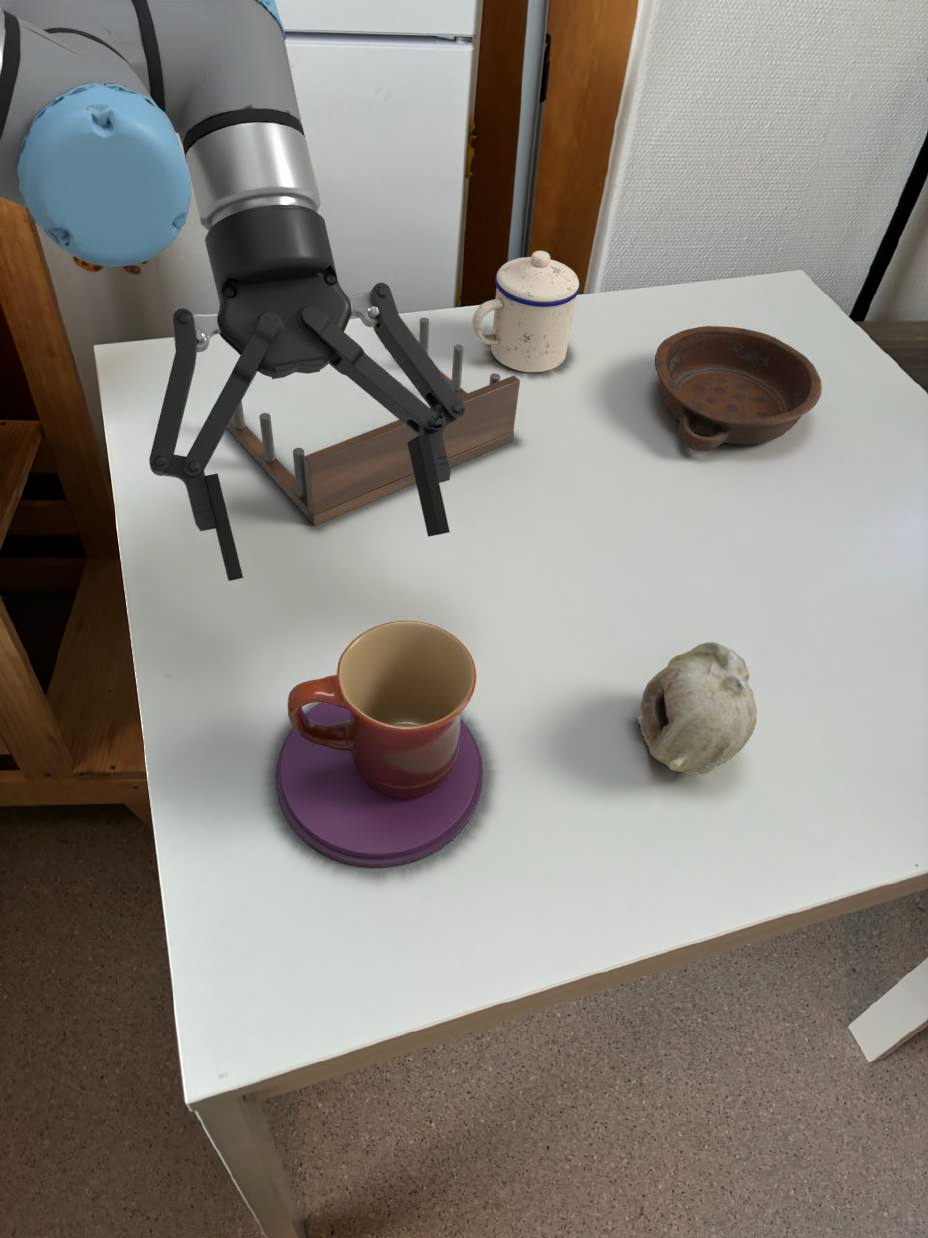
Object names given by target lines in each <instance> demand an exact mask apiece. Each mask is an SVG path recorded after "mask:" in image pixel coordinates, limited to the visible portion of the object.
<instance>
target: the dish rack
mask: <svg viewBox="0 0 928 1238" xmlns="http://www.w3.org/2000/svg"><path fill="white" fill-rule="evenodd" d="M418 328H419V329H418V330H419V331H418V342H419V343H420V345H421V346H422V347H423V349H424V350H425V351H426V353H427V354H428V355H429V339H430V318H428V317H421V318H419V327H418ZM464 350H465V349H464V345H462V344H458V343H457V344H455V345H453V352H452V353H453V354H452V367H451V368H452V370H451V371H452V372H451V378H450V377H449V376H447V375H446V374H445V373H443V371H441V370H440V372H441V373H442V374H443V376H444V377H445V378H446V380H447V381H448V383H449V384H450V385H451V387H452V388H453V389H454V391H455V392H456V393H457V395H458V396H459V397H460V399H461V400H462V401H463V403H464V405H465V413H464V414H463V416H461V417H460V418H458V419H456V420H455V421H453V422H452V423H450V424H448V425H447V426H446V427H445V428H444V431H443V439H444V444H445V448H446V453H447V458H448V462H449V467H450V469H453V468H454V467H456V466H459V465H461V464H463V463H465V462H466V463H467V462H468V461H471V460H472V459H474V458H477V457H480V456H481V455H484V454H487V453H489V452H491V451H494V450H496V449H499V448H501V447H503V446H506V445H507V444H510V443H512V442H514V436H515V423H516V417H517V407H518V401H519V392H520V385H521V380H520V379H519V378H518V377H516V376H515V375H511V376H509V377H506V378H503V379H501V376H500V374H499V373H495V372H493V373H491V374H490V375H489V383H488V385H485V386H483V387H480V388H478V389H475V390H473V391H470V392H467V391H465V390H464V389H463V388H462V376H463V375H462V374H463V364H464V363H463V362H464ZM429 408H430V407H429ZM430 409H431V408H430ZM258 419H259V425H260V432H261V440H260V439H259V438H258V437H257V435H255V433H253V431H252V430H250V428H249V427H248V426H247V425H246V421H245V414H244V408H243V400H242V401H241V403H240V404H239V406H238V408H237V410H236V412H235V414H234V416H233V417H232V419H231V421H230V423H229V425H228V427H227V429H226V430H228V431H229V432H230V433H231V435H232V436H233V437H234V438H235V439H236V440H237V441H238V442H239V443H240V444H241V446H242V447H243V448H244V449H245V450H246V451H247V452H248V453H249V455H251V456H252V458H253V459H254V460H255V461H256V462H257V463H258V465H259V466H261V468H262V469H263V470H264V471H265V472H266V473H267V474H268V475H269V477H270V478H271V479H272V480H273V481H274V482H275V483H276V485H277V486H279V488H280V489H281V490H282V491H283V492H284V493H285V494H286V495H287V496H288V498H289V499H290V500H291V501H292V502H293V503H294V504H295V506H296V507H297V508H298V509H299V510H300V511H301V512H302V513H303V514H304V515H305V516H306V518H308V520H309V521H310V522H311V523H312V524H313V525H314V526H318V525H320V524H322V523H325V522H327V521H329V520H332V519H334V518H336V517H340V516H341V515H343V514H346V513H348V512H350V511H353V510H355V509H358V508H360V507H363V506H365V505H367V504H370V503H372V502H374V501H376V500H378V499H381V498H383V497H386V496H388V495H391V494H393V493H395V492H398V491H400V490H402V489H404V488H407V487H409V486H411V485H413V484H416V480H415V475H414V471H413V466H412V462H411V457H410V453H409V448H408V444H407V442H409V441H410V440H412V439H414V438H415V437H417V436H418V435H417V434H416V433H415V432H414V431H412V430H411V429H410V428H409V427H408V426H406V425H405V424H404V423H403V422H402V421H400V420H399V419H398V420H395V421H392V422H389V423H387V424H384V425H382V426H379V427H377V428H374V429H372V430H369V431H365V432H364V433H362V434H358V435H356V436H353V437H351V438H348V439H345V440H343V441H339V442H338V443H336V444H333V445H330V446H327V447H324V448H322V449H319V450H317V451H314V452H312V453H309V454H307V455H306V454H305V450H304V448H302V447H295V448H294V449H293V450H292V458H293V468H294V469H293V470H294V476H293V475H292V474H291V472H290V471H289V469H287V468H286V467H285V466H284V465H283V464H282V463H281V461H279V459H278V458H277V457H276V452H275V444H274V434H273V426H272V417H271V414H270V413H268V412H262V413H260V414H259V418H258Z"/></svg>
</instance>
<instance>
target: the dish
mask: <svg viewBox="0 0 928 1238" xmlns="http://www.w3.org/2000/svg"><path fill="white" fill-rule="evenodd" d="M654 367H655V372H656V375H657V377H658V383H659V391H660V395H661V397H662V400H663V402H664V404H665V406H666V408H667V409H668V411H669V412H670V413H671V414H672V415H673V416H674V417H675V418H676V420H678V421H679V426H678V437H679V439H680V441H681V442H682V443H683V445H685V447H688V448H689V449H691V450H695V451H699V452H708V451H711V450H714V449H716V448H718V447H719V446H720V445H721V444H723V443H728V444H733V445H734V444H736V445H757V444H763V443H766V442H770V441H772V440H773V441H774V440H775V439H777V438H780V437H781V436H783V435H785V434H786V433H787V432H789V431H790V430H792V428H793V427H794V426H795V425H796V424H797V423H798V421H800V419H801V418H802V417H803V416H804V415H806V414H807V413H808V412H810V411H811V410H812V409H814V408H815V406H816V405H817V404H818V402H819V401H820V398H821V396H822V391H823V386H822V383H823V382H822V380H821V377H820V375H819V372H818V370H817V368H816V367H815V365H814V363H812V362H811V361H810V359H809V358H808V357H806V355H804V354H803V353H801V352H800V351H798V350H797V349H795V348H794V347H792V346H791V345H789V344H787V343H785V342H783V341H782V340H780V339H779V338H777V337H775V336H772V335H769V334H767V333H765V332H760V331H757V330H753V329H747V328H741V327H735V326H721V325H706V326H697V327H694V328H693V327H692V328H687V329H684V330H682V331H678V332H676V333H674V334H672V335H670V336H669V337H667V338H665V339H664V340H663V341H662V342H661V343H660V344H659V345H658V347H657V349H656V353H655V355H654Z"/></svg>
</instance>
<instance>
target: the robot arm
mask: <svg viewBox="0 0 928 1238" xmlns="http://www.w3.org/2000/svg"><path fill="white" fill-rule="evenodd" d="M286 38H287V37H286V33H285V28H284V24H283V22H282V20H281V18H280V14H279V10H278V6H277V3H276V0H0V198H2V199H4V200H7V201H9V202H12V203H14V204H17V205H18V206H21V207H24V208H26V209H27V212H28V213H29V215H30V218H31V219H32V220H33V222H34V223H35V224H36V225H37V226H38V227H39V228H40V229H41V230H42V231H43V232H44V233H45V235H46V236H47V237H48V238H49V239H50V240H51V241H52V242H53V243H55V245H56V246H58V247H59V248H60V249H61V250H63V251H65V252H66V253H67V254H69V255H70V256H73V257H74V258H76V259H78V260H80V261H83V262H86V263H88V264H92V265H96V266H101V267H110V268H112V267H113V268H114V267H116V268H117V267H127V266H134V265H138V264H141V263H144V262H146V261H149V260H151V259H153V258H155V257H157V256H158V255H160V254H161V253H163V252H164V251H165V250H166V249H167V248H169V246H170V245H171V244H172V243H174V241H175V240H176V238H177V237H178V235H179V234H180V232H181V231H182V228H183V227H184V226H185V224H186V223H187V222H186V221H187V216H188V214H189V210H190V207H191V200H192V190H193V194H194V199H195V203H196V206H197V211H198V216H199V221H200V224H201V226H202V227H203V228H204V229H206V230H207V234H206V236H205V238H204V242H205V243H204V244H205V248H206V252H207V256H208V260H209V264H210V268H211V272H212V276H213V281H214V284H215V289H216V293H217V297H218V302H219V309H218V313H195V314H194V313H192V312H191V311H190V310H189V309H187V308H178V309H177V310H175V311H174V312H173V315H172V332H173V341H174V348H175V353H174V357H173V361H172V365H171V368H170V372H169V378H168V381H167V386H166V388H165V389H166V390H165V393H164V397H163V402H162V406H161V409H160V414H159V417H158V421H157V426H156V430H155V436H154V438H153V441H152V447H151V450H150V454H149V461H148V462H149V463H148V464H149V468H150V470H151V472H152V473H153V474H154V475H156V476H158V477H170V478H176V479H178V480H180V481H181V482H183V484H184V485H185V488H186V492H187V496H188V500H189V504H190V507H191V512H192V516H193V520H194V524H195V526H196V528H197V529H198V530H199V531H200V532H207V531H211V530H215V532H216V536H217V540H218V544H219V549H220V553H221V558H222V560H223V565H224V570H225V574H226V577H227V582H232V581H235V580H241V579H244V575H243V572H242V566H241V562H240V559H239V555H238V551H237V550H238V549H237V547H236V543H235V539H234V534H233V529H232V526H231V522H230V517H229V514H228V509H227V506H226V502H225V497H224V494H223V490H222V484H221V481H220V476H219V473H212V474H207V475H206V473H205V470H206V468H207V466H208V464H209V463H210V461H211V458H212V457H213V455H214V453H215V451H216V449H217V447H218V446H219V444H220V443H221V440H222V438H223V436H224V435H225V433H226V430H228V429H227V427H228V425H229V423H230V421H231V419H232V417H233V416H234V414H235V412H236V410H237V408H238V406H239V404H240V403H241V401H242V402H243V399H244V397H245V395H246V393H247V392H248V390H249V388H250V386H251V385H252V382H253V381H254V380H255V377H256V375H257V373H260V374H261V375H263V376H265V377H269V378H271V380H277V379H283V378H286V377H288V376H290V375H293V374H295V373H298V374H306V375H309V374H314V373H320V371H322V369H324V368H326V367H327V366H328V365H330V366H331V367H332V368H333V369H334V370H336V371H337V372H338V373H339V374H341V375H343V376H346V377H347V378H349V379H350V380H351V381H352V382H354V383H355V384H356V385H357V386H358V387H359V388H360V389H362V390H363V391H364V392H365V393H367V394H368V395H369V396H370V397H372V398H373V399H374V400H375V401H376V402H377V403H379V405H381V406H382V407H383V408H384V409H386V410H387V411H388V412H389V413H391V414H392V415H393V416H394V417H395V418H396V419H398V420H400V421H402V422H403V423H404V424H405V425H406V426H408V427H409V428H410V429H411V430H412V431H414V432H415V433H416V434H417V435H418V436H417V437H415V438H414V439H412V440H410V441H409V442H407V444H408V448H409V453H410V457H411V462H412V466H413V471H414V475H415V480H416V483H415V485H416V489H417V493H418V499H419V503H420V506H421V511H422V516H423V521H424V525H425V529H426V534H427V537H428V538H429V537H435V536H439V535H444V534H449V533H451V531H450V527H449V523H448V517H447V512H446V509H445V503H444V499H443V495H442V490H441V484H442V483H445V482H448V481H451V480H450V479H451V472H452V471H451V468H450V467H449V462H448V458H447V453H446V448H445V444H444V439H443V431H444V428H445V427H446V426H447V425H448V424H450V423H452V422H453V421H455V420H456V419H458V418H460V417H461V416H463V414H464V413H465V405H464V403H463V401H462V400H461V399H460V397H459V396H458V395H457V393H456V392H455V391H454V389H453V388H452V387H451V385H450V384H449V383H448V381H447V380H446V378H445V377H444V376H443V374H442V373H443V372H442V371H441V370H440V369H439V367H438V366H437V364H435V362H434V361H433V360H432V358H431V357H430V355H429V353H428V354H427V353H426V351H425V350H424V349H423V347H422V346H421V345H420V343H419V340H418V339H417V337H416V336H415V335H414V333H413V332H412V331H411V329H410V328H409V326H407V324H406V323H405V322H404V320H403V319H402V318H401V316H400V313H399V311H398V307H397V306H396V305H397V304H396V302H395V300H394V296H393V293H392V290H391V288H390V286H389V285H388V284H387V283H384V282H378V283H376V284H374V286H373V287H372V289H371V290H370V289H369V290H367V291H364V292H360V293H356V294H352V295H347V294H346V293H345V292H344V290H343V289H342V286H341V284H340V282H339V279H338V273H337V270H336V265H335V261H334V256H333V252H332V247H331V244H330V237H329V234H328V228H327V225H326V221H325V219H324V216H322V215H321V214H319V213H318V211H319V209H320V207H321V204H322V203H321V198H320V193H319V189H318V185H317V181H316V176H315V172H314V168H313V163H312V160H311V155H310V151H309V146H308V142H307V139H306V136H305V131H304V130H305V129H304V127H303V123H302V119H301V113H300V109H299V103H298V100H297V95H296V89H295V83H294V78H293V74H292V70H291V64H290V59H289V55H288V49H287V44H286ZM177 134H178V135H177ZM178 136H179V137H178ZM178 138H180V140H179V139H178ZM179 141H180V142H179ZM180 143H181V145H182V148H181V146H180ZM182 150H183V152H182ZM352 316H355V317H357V318H358V319H360V321H361V322H362V324H363V325H364V326H365V327H367V328H373V330H374V333H375V335H376V336H377V338H378V339H379V341H380V343H381V344H382V345H383V346H384V348H385V349H386V350H387V352H388V353H389V354H390V356H391V357H392V359H393V360H394V361H395V363H396V364H397V365H398V366H399V368H400V369H401V370H402V372H403V373H404V374H405V377H407V378H408V380H409V381H410V382H411V384H412V385H413V386H414V388H415V389H416V390H417V392H418V394H420V396H421V397H422V399H423V400H424V401H425V402H426V403H425V402H423V401H422V400H421V399H419V397H417V396H416V395H415V394H414V393H413V392H411V391H410V389H408V388H407V387H406V386H404V385H403V384H402V383H401V382H400V381H398V380H397V379H396V378H395V377H394V376H393V375H391V374H390V373H389V372H388V371H387V370H386V369H385V368H383V366H381V365H380V364H378V362H376V361H375V359H372V358H371V357H370V356H369V355H368V354H367V353H366V352H365V350H364V348H363V347H362V346H361V345H360V344H359V343H358V342H357V341H356V340H354V339H353V338H352V337H350V335H348V334H347V333H346V332H345V331H346V329H347V327H348V324H349V322H350V319H351V317H352ZM215 335H219V336H220V338H221V339H222V340H224V342H226V343H227V344H228V345H229V346H230V347H231V349H233V350H234V351H235V352H236V353H238V355H239V357H238V359H237V361H236V363H235V365H234V367H233V369H232V372H231V373H230V375H229V377H228V379H227V380H226V382H225V384H224V386H223V388H222V390H221V391H220V394H219V395H218V397H217V399H216V401H215V403H214V405H213V406H212V408H211V410H210V412H209V414H208V416H207V417H206V419H205V422H204V423H203V425H202V426H201V429H200V431H199V432H198V434H197V436H196V438H195V440H194V441H193V443H192V445H191V448H190V449H189V451H188V453H187V454H186V455H181V454H180V455H179V454H175V451H176V447H177V443H178V439H179V436H180V431H181V427H182V424H183V423H182V422H183V419H184V414H185V411H186V407H187V402H188V397H189V394H190V391H191V390H190V389H191V386H192V381H193V378H194V375H195V374H194V373H195V369H196V362H197V355H198V353H203V352H205V351H206V350H207V349H208V348H209V346H210V345H209V344H210V340H211V339H212V337H213V336H215ZM440 371H441V372H442V373H441V372H440ZM430 408H431V409H430Z"/></svg>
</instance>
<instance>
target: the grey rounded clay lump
mask: <svg viewBox="0 0 928 1238" xmlns="http://www.w3.org/2000/svg"><path fill="white" fill-rule="evenodd" d="M749 679H750V672H749V668H748V667H747V664H746V661H745V660H744V658H742V656H740V655H739V654H738V653H737V652H735V651H734V650H733V649H731V648H729V647H728V646H727V645H726V646H725V645H723V644H721V643H719V642H714V641H708V642H704V643H701V644H698V645H696V646H695V647H693V648H692V649H690V650H688V651H686V652H684V653H681V654H678V655H677V654H676V656H674V657H672V658H671V659H670V660H669V661H668V663H667V666H666V667H664V668H663V669H661V670H660V671H659V672H658V673H656V674H655V675H654V676H653V677H652V678H651V679H650V680H649V681H648V682H647V684H646V686H645V688H644V690H643V692H642V698H641V701H640V713H641V715H640V716H639V717H638V718H637V721H638V724H639V725H640V727H639V728H640V734H641V736H642V737H643V740H644V741H645V743H646V745H647V746H648V751H649V753H650V755H651V756H652V758H654V759H655V760H657V761H658V762H660V763H661V764H664V765H666V766H667V767H668V769H669V770H670V771H673V772H675V771H676V772H679V773H680V772H681V773H684V774H687V775H688V776H695V777H696V776H698V775H705V774H708V773H709V772H711V771H712V770H713V769H715V768H718V767H720V766H721V765H725V764H726V763H727V762H729V761H730V760H731V759H733V758H734V757H735V756H736V755H737V754H738V753H740V751H741V750H743V748H744V747H745V746H746V744H747V743H748V741H749V740H750V739H751V737H752V735H753V734H754V732H755V729H756V726H757V713H758V711H757V704H756V702H755V701H756V700H755V695H754V691H753V689H752V688H751V686H750V685H749V683H748V682H749Z"/></svg>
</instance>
